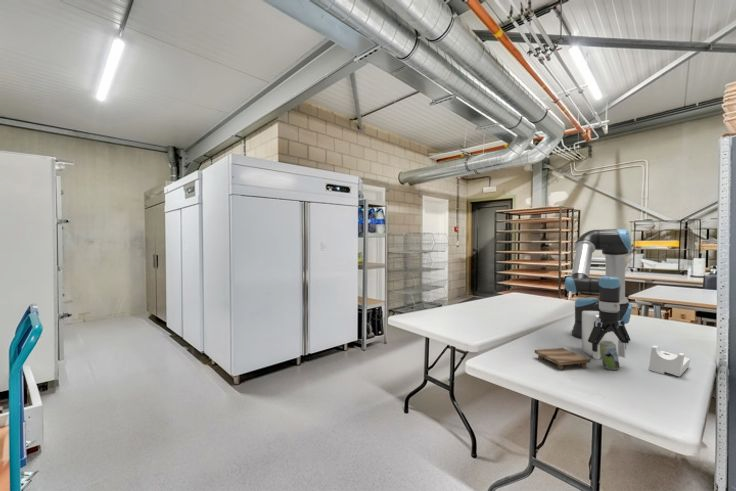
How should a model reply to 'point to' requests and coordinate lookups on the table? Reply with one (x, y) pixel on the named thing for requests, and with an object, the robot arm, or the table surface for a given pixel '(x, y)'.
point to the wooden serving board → (562, 357)
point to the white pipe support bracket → (668, 362)
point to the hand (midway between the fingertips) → (609, 357)
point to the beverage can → (609, 355)
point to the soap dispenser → (587, 327)
